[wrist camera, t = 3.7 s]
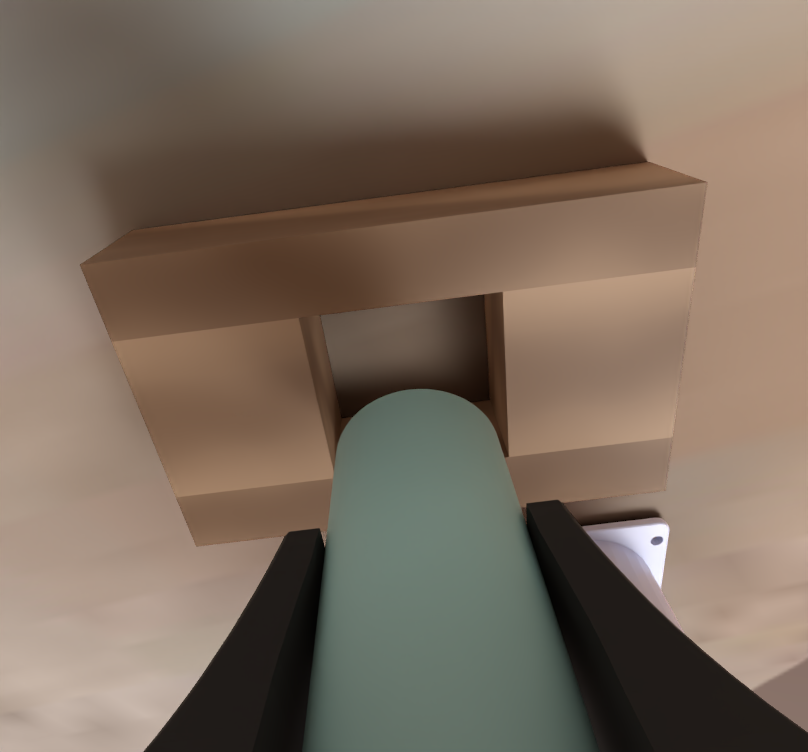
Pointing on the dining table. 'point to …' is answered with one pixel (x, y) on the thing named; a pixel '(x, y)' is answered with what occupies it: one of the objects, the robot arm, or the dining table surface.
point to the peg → (434, 596)
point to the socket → (397, 285)
